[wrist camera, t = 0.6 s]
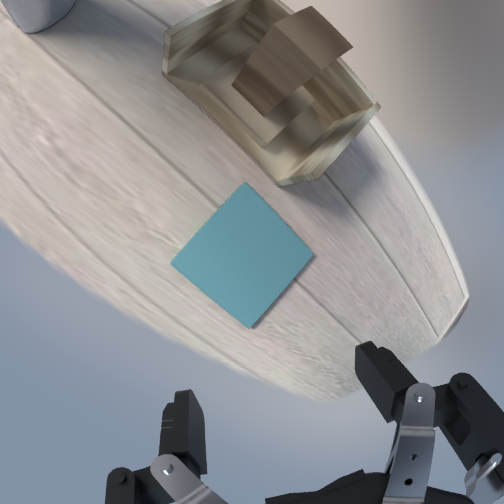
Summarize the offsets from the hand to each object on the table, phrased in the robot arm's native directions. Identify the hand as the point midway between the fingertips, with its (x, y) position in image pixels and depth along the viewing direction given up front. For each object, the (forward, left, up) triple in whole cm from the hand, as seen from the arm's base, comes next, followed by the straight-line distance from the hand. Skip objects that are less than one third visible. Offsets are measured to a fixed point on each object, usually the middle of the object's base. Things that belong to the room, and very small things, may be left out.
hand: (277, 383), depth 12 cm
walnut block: (-2, +22, -17) cm, 28 cm away
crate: (-2, +23, -20) cm, 31 cm away
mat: (+4, +4, -20) cm, 21 cm away
